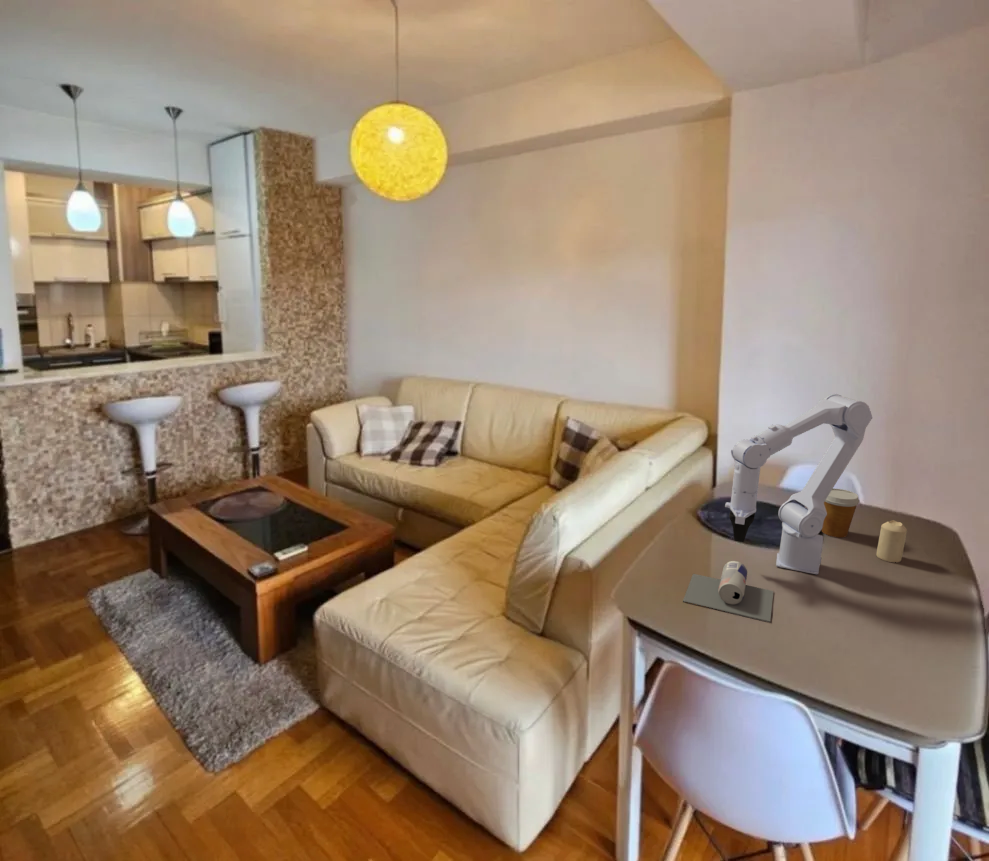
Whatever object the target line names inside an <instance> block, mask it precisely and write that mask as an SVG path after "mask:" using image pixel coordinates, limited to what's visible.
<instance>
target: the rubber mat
mask: <svg viewBox="0 0 989 861" xmlns="http://www.w3.org/2000/svg"><path fill="white" fill-rule="evenodd" d="M690 578H691V579H690V581H689V583H688V587H687V589H686V592H685V594H684V597H683V599H682V603H685V602H688V603H687V604H689V603H693V604H692V605H694V604H697V605H696V606H698V605H701V606H700V607H702V606H706V607H709V608H708V609H711V608H713V609H712V610H715V609H717V610H716V611H719V610H722V611H721V612H723V611H725V612H724V613H727V612H729V613H728V614H732V615H735V616H741V617H743V618H744V617H745V618H750V619H753V620H758V621H762V622H765V623H766V622H767V623H771V619H772V618H771V617H772V609H773V599H774V590H771V589H768V588H761V587H757V586H751V585H748V584H746V586H745V593H744V598H743V599H742V600H741V601H740V602H739V603H738V604H728V603H725V602H724V601H723V600H722V599H721V598H720V596H719V592H718V589H719V585H720V581H721V578H717V577H716V578H714V577H710V576H706V575H701V574H696V573H692V576H691V577H690ZM706 607H705V608H706Z"/></svg>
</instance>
